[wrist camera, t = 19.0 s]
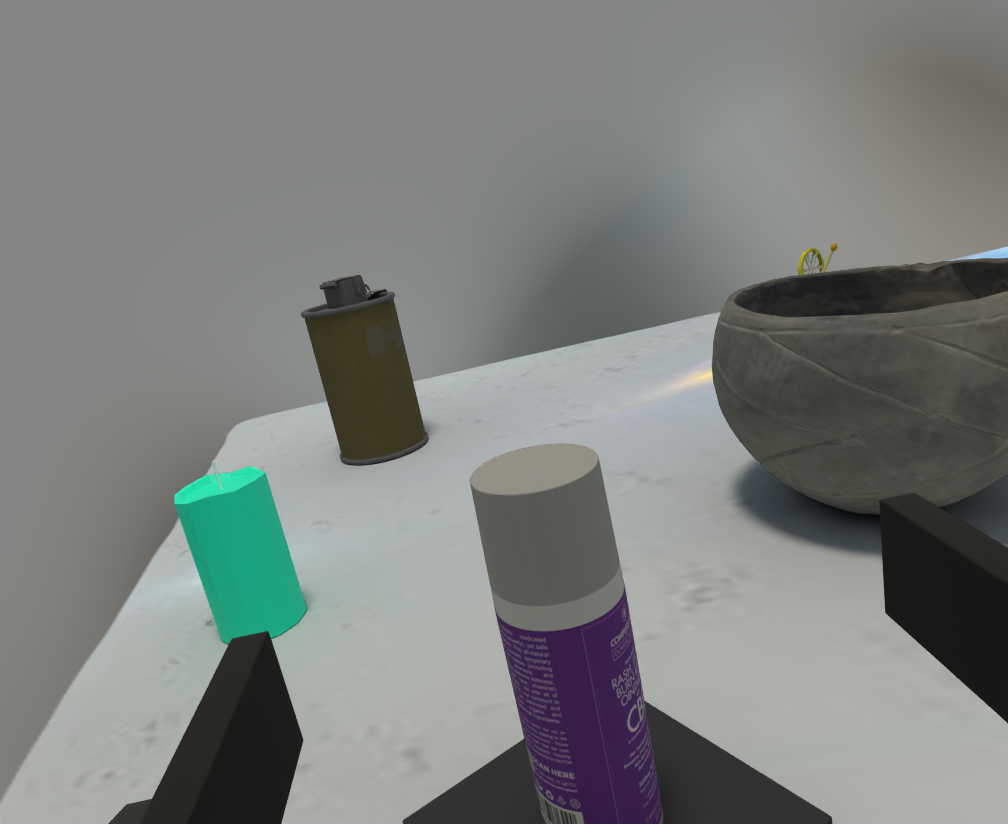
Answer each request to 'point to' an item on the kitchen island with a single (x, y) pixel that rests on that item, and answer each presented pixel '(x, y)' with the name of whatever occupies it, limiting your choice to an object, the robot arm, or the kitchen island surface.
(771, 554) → the kitchen island surface
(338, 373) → the canister
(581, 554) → the container
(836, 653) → the kitchen island surface
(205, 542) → the candle
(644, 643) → the kitchen island surface
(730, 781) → the mat
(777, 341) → the bowl
